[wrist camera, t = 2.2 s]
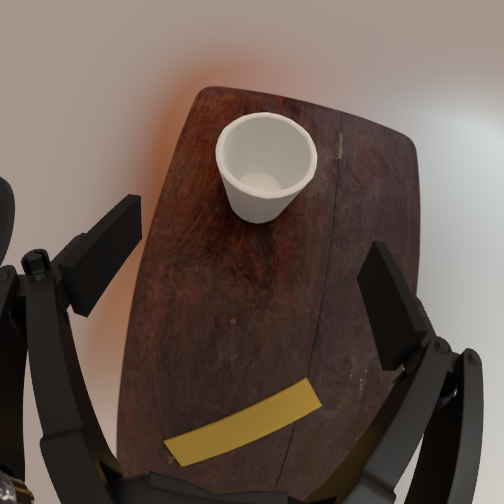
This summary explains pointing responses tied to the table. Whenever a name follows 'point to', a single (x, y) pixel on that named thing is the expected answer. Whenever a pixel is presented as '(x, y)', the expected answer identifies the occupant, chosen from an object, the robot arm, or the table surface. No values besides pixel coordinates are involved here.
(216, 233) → the table surface
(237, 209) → the cup
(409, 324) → the robot arm
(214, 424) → the yellow plank
